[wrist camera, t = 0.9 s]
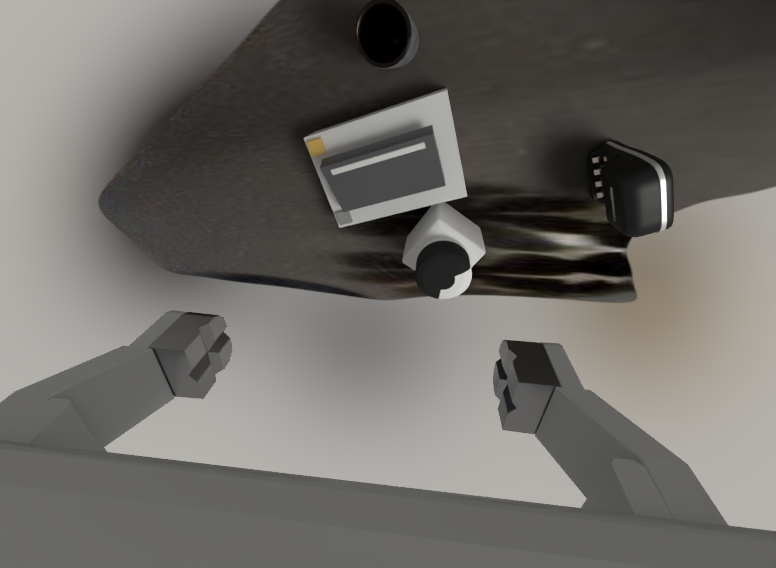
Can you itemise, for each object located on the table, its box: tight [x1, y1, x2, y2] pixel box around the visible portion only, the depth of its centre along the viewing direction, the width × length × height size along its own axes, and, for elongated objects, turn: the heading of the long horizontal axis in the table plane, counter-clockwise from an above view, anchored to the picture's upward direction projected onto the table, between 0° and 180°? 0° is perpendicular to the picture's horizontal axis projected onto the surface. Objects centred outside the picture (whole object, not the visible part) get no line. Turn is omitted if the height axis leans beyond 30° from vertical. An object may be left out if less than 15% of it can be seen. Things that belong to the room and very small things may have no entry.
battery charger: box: [587, 140, 674, 237], centre depth 34 cm, size 7×4×11 cm, turn 24°
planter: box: [355, 0, 419, 69], centre depth 31 cm, size 4×4×10 cm
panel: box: [304, 88, 467, 228], centre depth 39 cm, size 16×11×5 cm
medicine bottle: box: [402, 202, 485, 299], centre depth 41 cm, size 7×7×12 cm
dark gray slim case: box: [320, 125, 446, 212], centre depth 36 cm, size 12×6×2 cm, turn 107°
